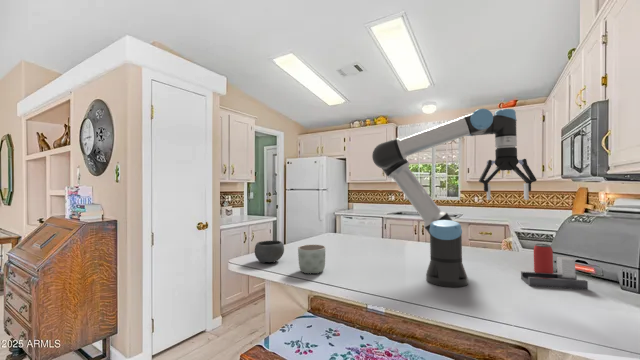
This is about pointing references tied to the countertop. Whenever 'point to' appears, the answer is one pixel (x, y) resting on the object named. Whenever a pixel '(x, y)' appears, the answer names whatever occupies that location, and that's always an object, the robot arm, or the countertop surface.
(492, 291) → the countertop surface
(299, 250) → the planter
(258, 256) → the bowl
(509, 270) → the countertop surface
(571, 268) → the grey rectangular block
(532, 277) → the dark grey tray
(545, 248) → the beer can
